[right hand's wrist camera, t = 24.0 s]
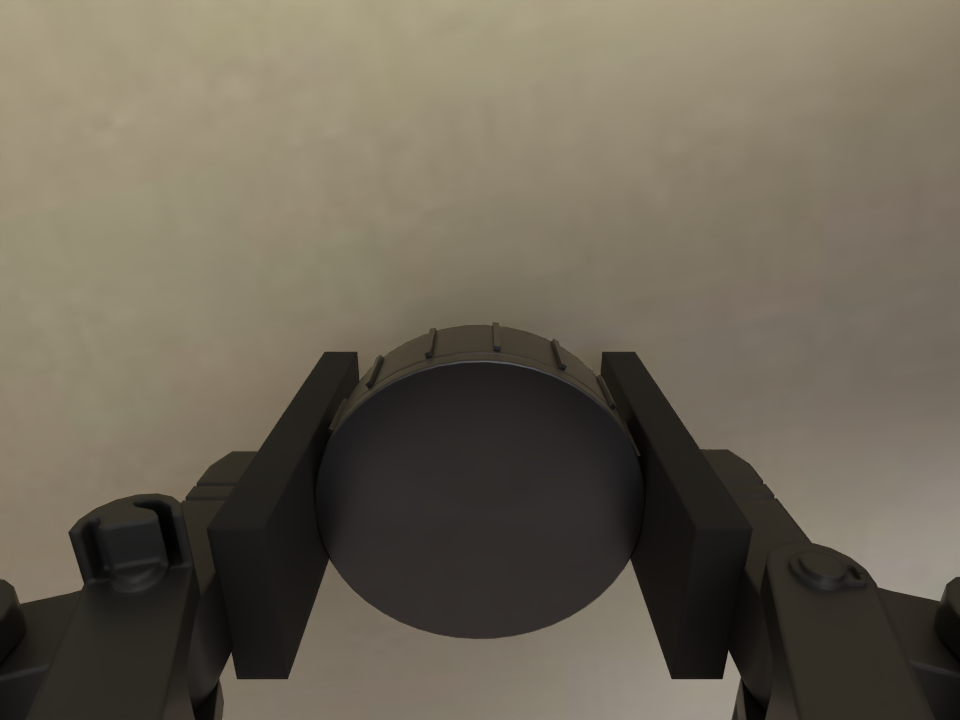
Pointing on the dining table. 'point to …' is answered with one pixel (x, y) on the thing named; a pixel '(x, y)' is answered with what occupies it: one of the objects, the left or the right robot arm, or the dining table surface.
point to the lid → (479, 484)
